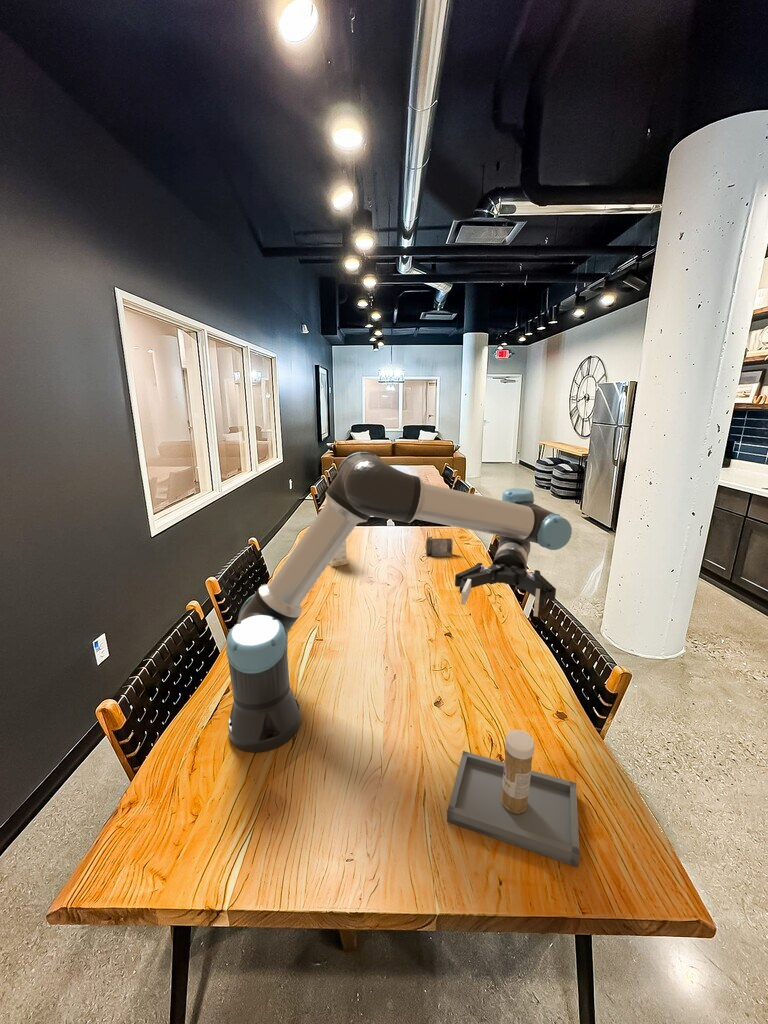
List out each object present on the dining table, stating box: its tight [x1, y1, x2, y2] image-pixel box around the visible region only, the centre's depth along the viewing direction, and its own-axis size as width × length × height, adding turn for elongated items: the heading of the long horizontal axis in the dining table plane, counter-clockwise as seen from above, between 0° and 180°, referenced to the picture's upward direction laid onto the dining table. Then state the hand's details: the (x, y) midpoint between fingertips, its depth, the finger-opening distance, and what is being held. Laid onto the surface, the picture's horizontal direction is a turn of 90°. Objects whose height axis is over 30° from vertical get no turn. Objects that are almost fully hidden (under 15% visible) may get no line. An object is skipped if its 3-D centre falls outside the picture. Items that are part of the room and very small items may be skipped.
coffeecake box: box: [328, 539, 348, 568], centre depth 182 cm, size 15×7×20 cm, turn 25°
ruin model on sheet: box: [425, 536, 454, 557], centre depth 187 cm, size 11×3×10 cm, turn 89°
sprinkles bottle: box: [501, 729, 536, 814], centre depth 72 cm, size 5×5×13 cm
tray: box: [446, 750, 580, 868], centre depth 73 cm, size 20×13×2 cm, turn 68°
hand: (498, 604), depth 82 cm, fingers open, 13 cm apart
